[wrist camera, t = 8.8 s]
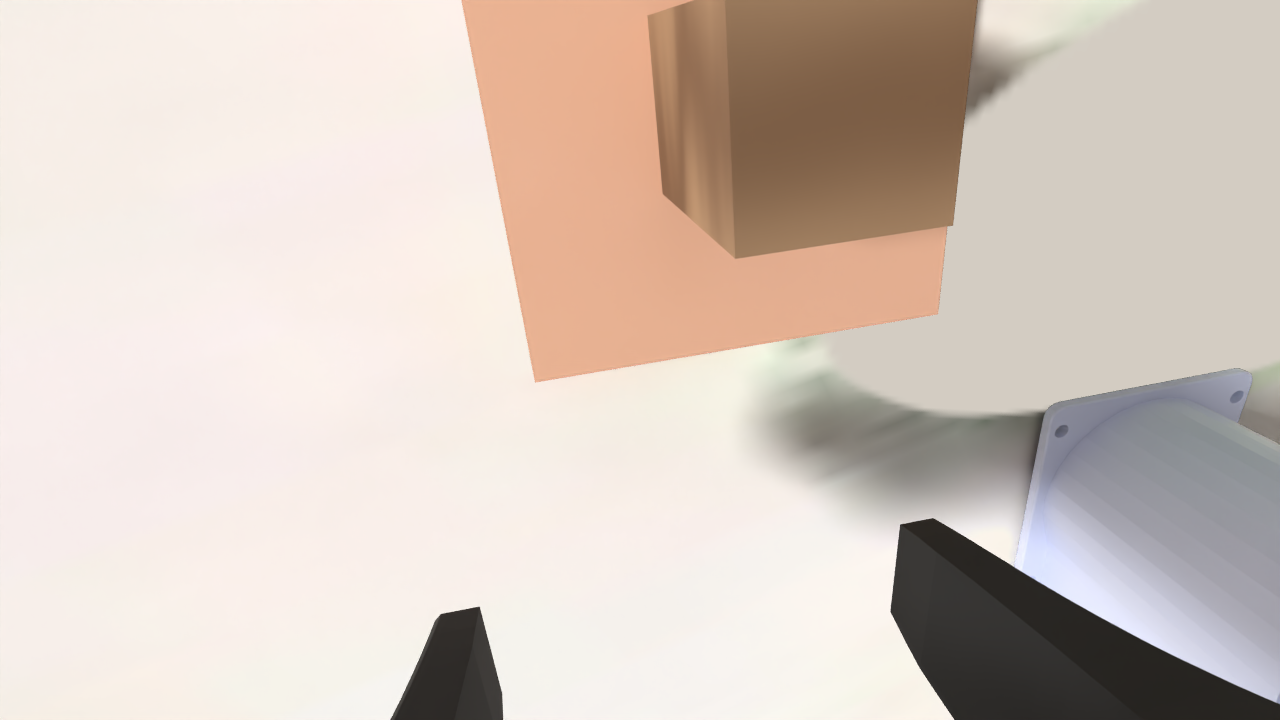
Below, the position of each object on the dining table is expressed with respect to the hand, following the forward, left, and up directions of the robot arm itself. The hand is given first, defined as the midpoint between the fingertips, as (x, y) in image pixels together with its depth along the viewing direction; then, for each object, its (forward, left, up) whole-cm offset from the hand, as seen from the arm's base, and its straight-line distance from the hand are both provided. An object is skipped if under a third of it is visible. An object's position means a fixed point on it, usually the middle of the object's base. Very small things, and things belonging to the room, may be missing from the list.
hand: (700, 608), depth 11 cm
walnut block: (+7, -4, -8) cm, 12 cm away
